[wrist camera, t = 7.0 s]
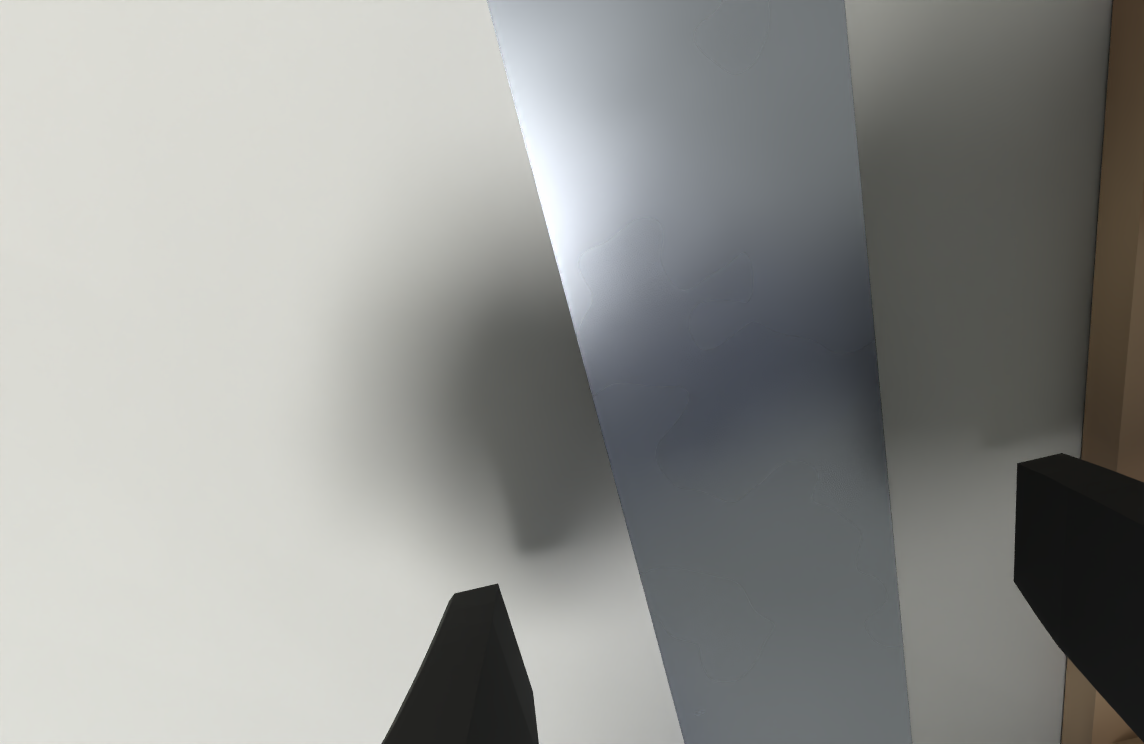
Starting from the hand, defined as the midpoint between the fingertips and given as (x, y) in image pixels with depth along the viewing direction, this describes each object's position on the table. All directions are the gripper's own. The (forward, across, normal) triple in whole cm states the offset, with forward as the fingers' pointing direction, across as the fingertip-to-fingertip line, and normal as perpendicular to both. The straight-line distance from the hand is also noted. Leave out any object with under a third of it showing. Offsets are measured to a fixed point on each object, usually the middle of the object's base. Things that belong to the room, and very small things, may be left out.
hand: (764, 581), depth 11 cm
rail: (+3, 0, 0) cm, 3 cm away
